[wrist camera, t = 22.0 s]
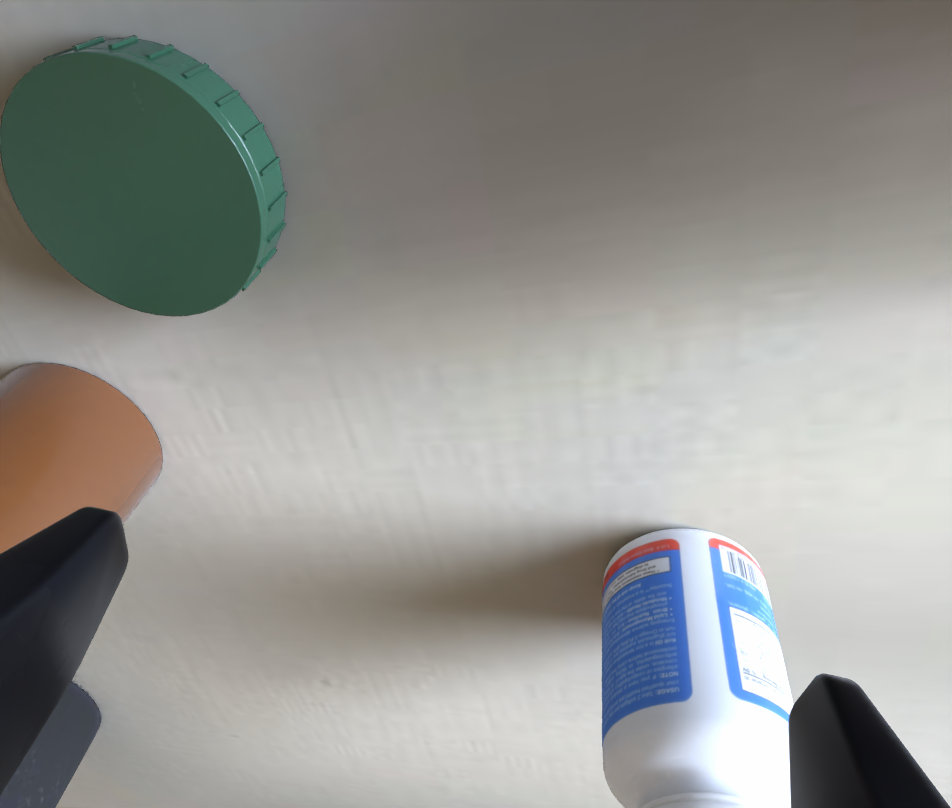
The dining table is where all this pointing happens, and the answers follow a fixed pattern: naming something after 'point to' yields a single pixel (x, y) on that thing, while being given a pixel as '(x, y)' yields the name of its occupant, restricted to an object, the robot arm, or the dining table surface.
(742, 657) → the pill bottle
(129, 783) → the dining table surface
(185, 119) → the jar lid
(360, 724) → the dining table surface
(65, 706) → the travel mug
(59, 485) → the honey jar
